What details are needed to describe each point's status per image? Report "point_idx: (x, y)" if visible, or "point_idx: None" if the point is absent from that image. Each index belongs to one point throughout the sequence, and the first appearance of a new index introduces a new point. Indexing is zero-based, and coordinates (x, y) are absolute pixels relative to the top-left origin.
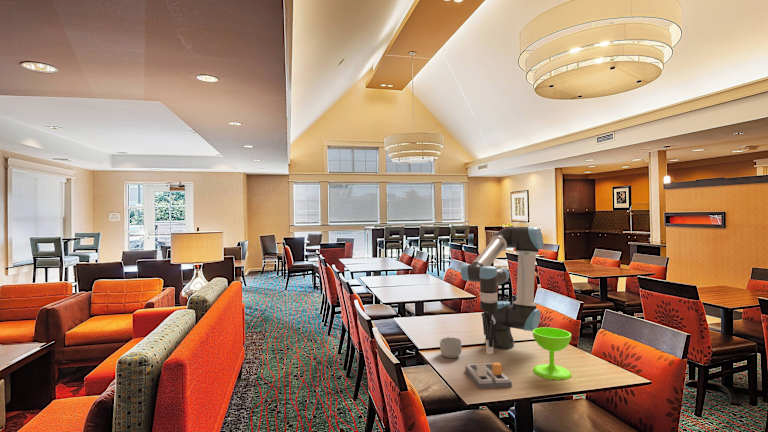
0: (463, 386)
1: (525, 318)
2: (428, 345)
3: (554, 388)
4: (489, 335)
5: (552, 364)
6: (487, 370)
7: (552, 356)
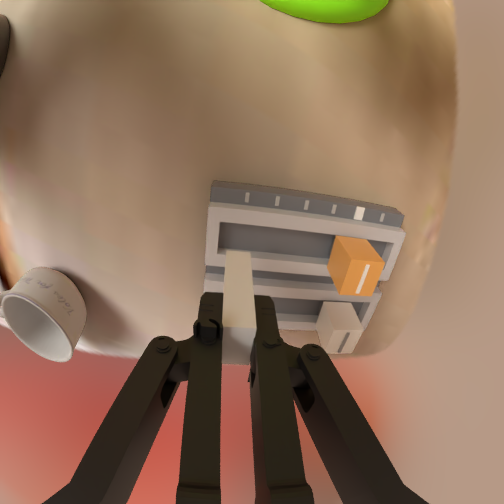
0: None
1: None
2: None
3: (446, 69)
4: (302, 406)
5: None
6: (295, 272)
7: None
